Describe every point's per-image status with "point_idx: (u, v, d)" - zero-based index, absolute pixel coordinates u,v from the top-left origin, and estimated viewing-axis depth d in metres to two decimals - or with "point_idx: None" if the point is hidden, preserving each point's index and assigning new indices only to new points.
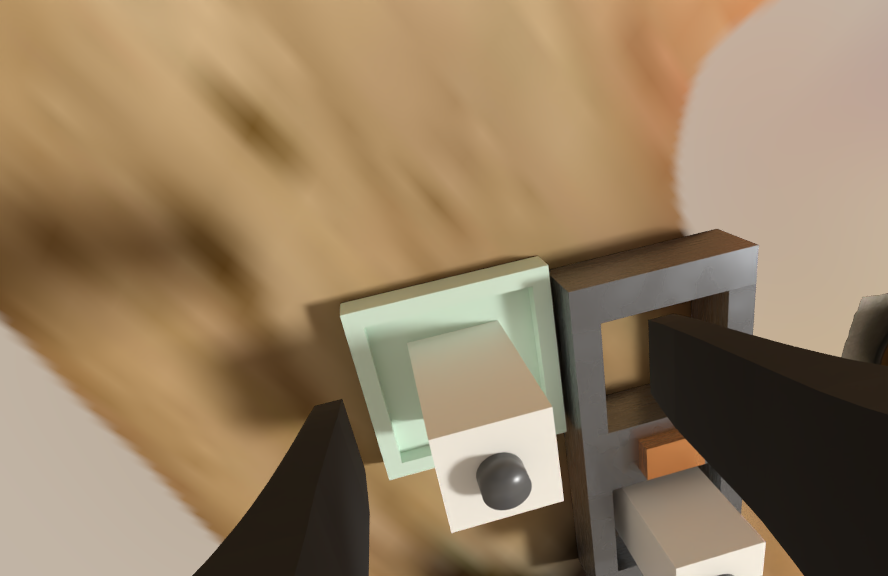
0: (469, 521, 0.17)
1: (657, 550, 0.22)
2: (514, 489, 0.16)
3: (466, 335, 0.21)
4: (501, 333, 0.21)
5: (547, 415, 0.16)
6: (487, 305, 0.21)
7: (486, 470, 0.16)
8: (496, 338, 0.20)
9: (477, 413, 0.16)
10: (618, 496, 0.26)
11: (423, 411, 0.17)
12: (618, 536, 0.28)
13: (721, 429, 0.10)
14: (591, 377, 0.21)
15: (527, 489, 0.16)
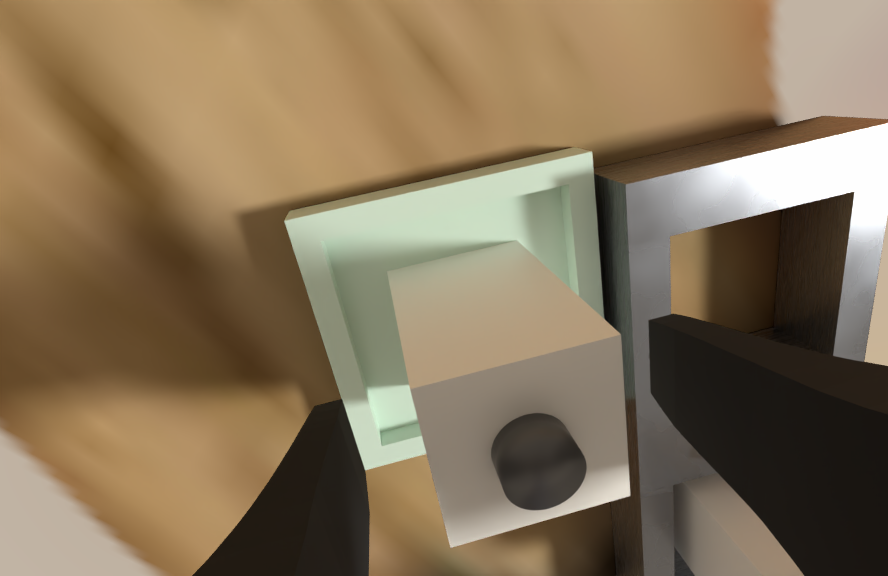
0: (479, 529, 0.10)
1: (743, 568, 0.16)
2: (557, 474, 0.09)
3: (472, 258, 0.14)
4: (523, 253, 0.14)
5: (612, 349, 0.09)
6: (502, 217, 0.15)
7: (509, 442, 0.09)
8: (516, 258, 0.14)
9: (493, 348, 0.10)
10: (676, 493, 0.19)
11: (404, 349, 0.10)
12: None
13: (721, 429, 0.10)
14: None
15: (579, 474, 0.09)
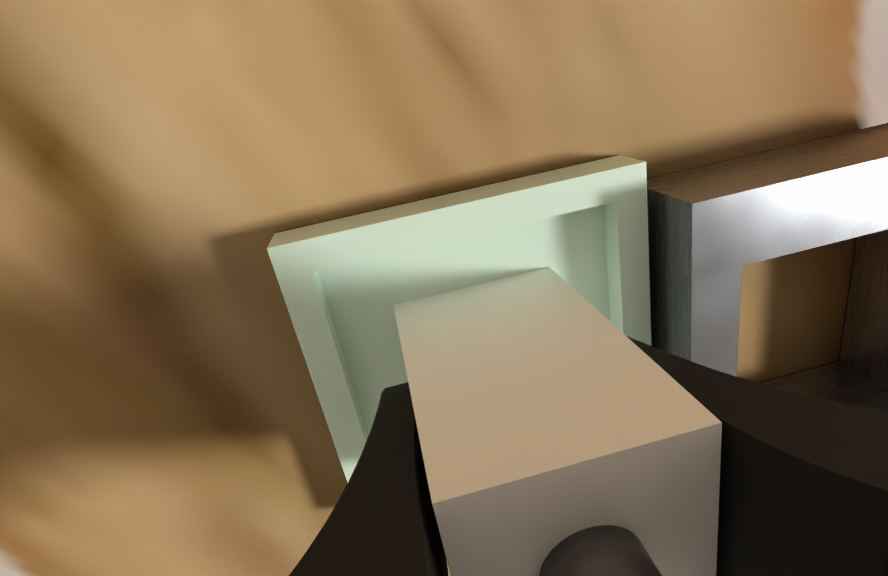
0: None
1: None
2: None
3: (497, 290, 0.12)
4: (561, 285, 0.12)
5: (708, 442, 0.07)
6: (532, 239, 0.12)
7: (568, 572, 0.07)
8: (553, 293, 0.11)
9: (542, 435, 0.07)
10: None
11: (421, 430, 0.08)
12: None
13: None
14: (715, 364, 0.12)
15: None
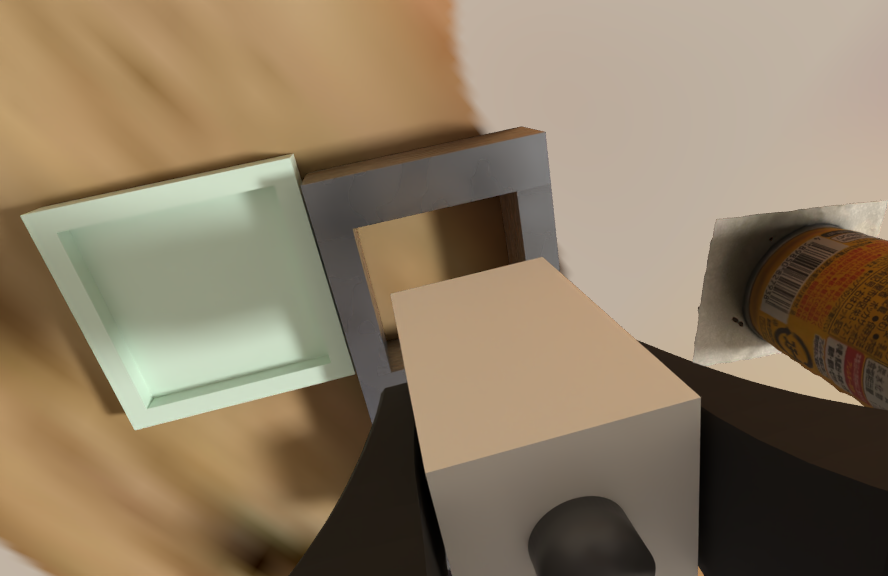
0: None
1: None
2: None
3: (491, 279, 0.12)
4: (553, 274, 0.12)
5: (688, 416, 0.07)
6: (230, 212, 0.18)
7: (555, 539, 0.07)
8: (545, 281, 0.12)
9: (531, 410, 0.08)
10: None
11: (415, 408, 0.08)
12: None
13: None
14: (354, 299, 0.17)
15: None
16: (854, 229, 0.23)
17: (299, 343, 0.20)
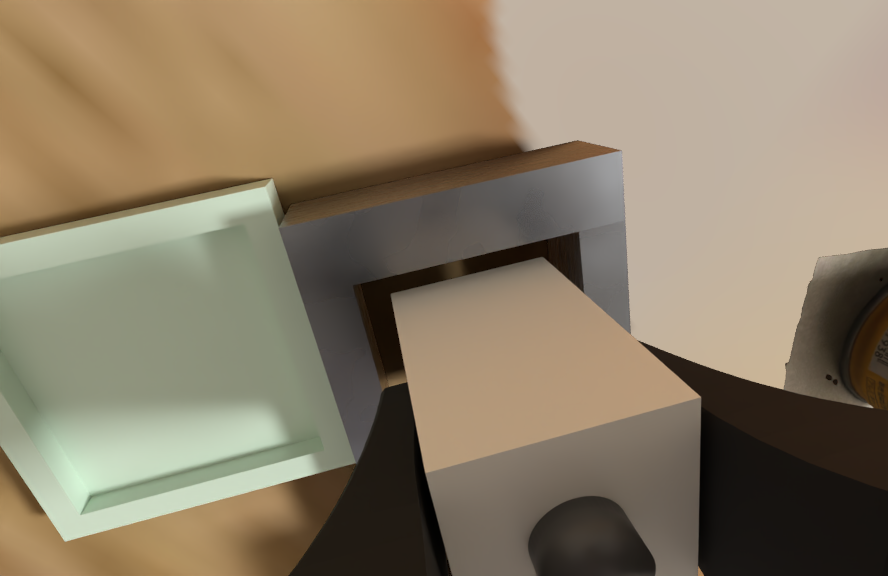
0: None
1: None
2: None
3: (491, 279, 0.12)
4: (553, 274, 0.12)
5: (688, 416, 0.07)
6: (186, 259, 0.13)
7: (555, 539, 0.07)
8: (545, 281, 0.12)
9: (531, 410, 0.08)
10: None
11: (415, 408, 0.08)
12: None
13: None
14: (355, 378, 0.13)
15: None
16: None
17: (283, 423, 0.15)
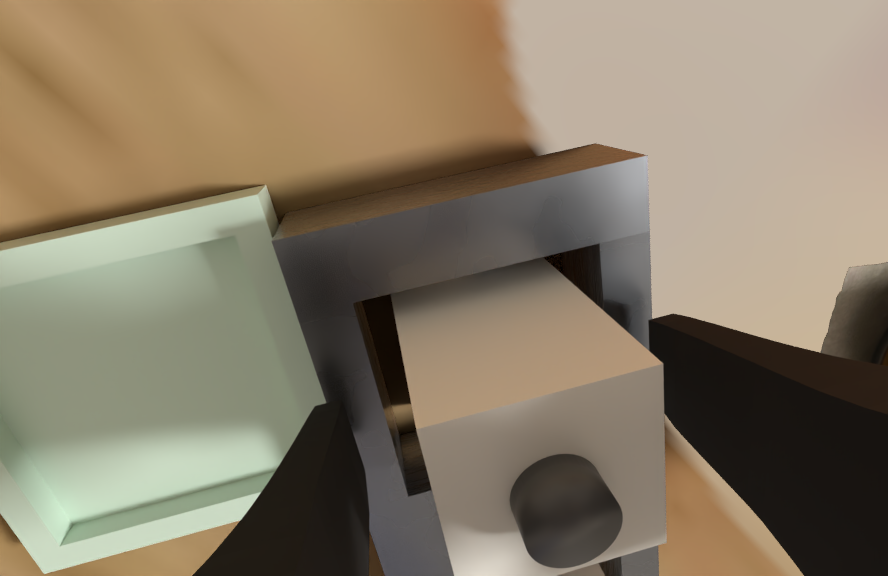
0: None
1: None
2: (589, 527, 0.08)
3: None
4: (539, 261, 0.13)
5: (652, 380, 0.08)
6: (172, 272, 0.12)
7: (532, 490, 0.08)
8: (532, 268, 0.12)
9: (512, 377, 0.08)
10: None
11: (409, 377, 0.09)
12: None
13: (720, 429, 0.10)
14: (355, 402, 0.12)
15: (613, 527, 0.08)
16: None
17: (278, 446, 0.14)
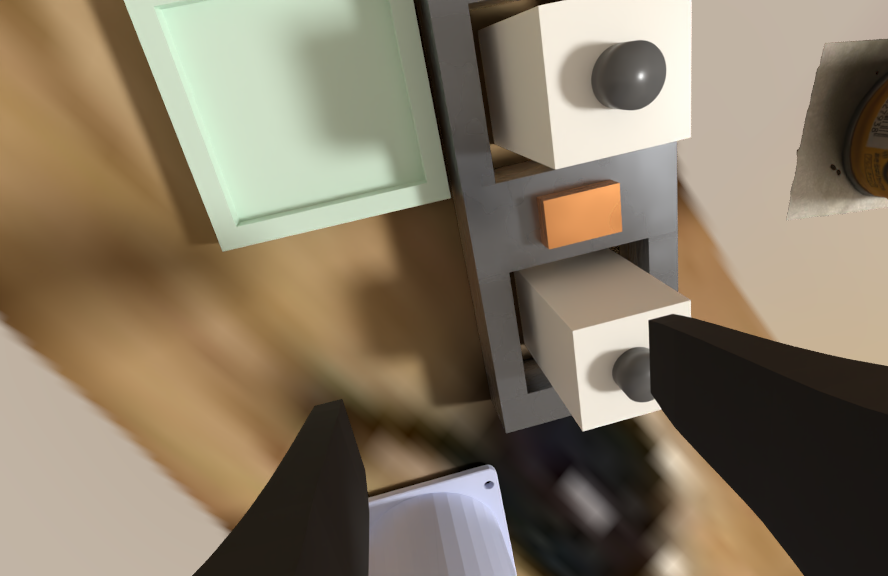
0: (577, 153, 0.14)
1: (557, 328, 0.17)
2: (645, 75, 0.12)
3: None
4: None
5: None
6: (330, 2, 0.17)
7: (609, 53, 0.13)
8: None
9: None
10: (526, 297, 0.21)
11: (521, 13, 0.14)
12: (535, 365, 0.23)
13: (721, 429, 0.10)
14: (464, 91, 0.16)
15: (660, 78, 0.13)
16: None
17: (392, 164, 0.19)
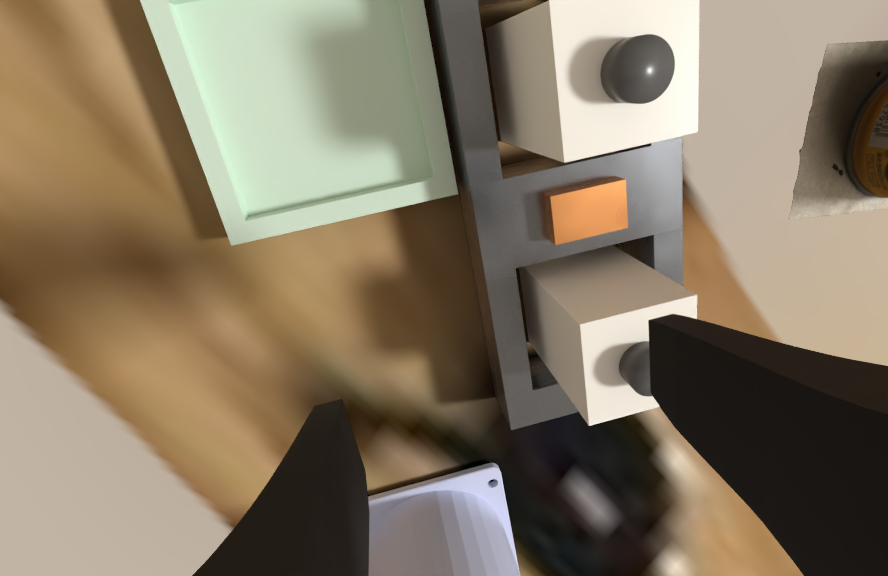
0: (586, 147, 0.14)
1: (564, 323, 0.18)
2: (654, 69, 0.13)
3: None
4: None
5: None
6: None
7: (618, 47, 0.13)
8: None
9: None
10: (531, 294, 0.21)
11: (531, 8, 0.14)
12: (540, 362, 0.23)
13: (720, 429, 0.10)
14: (472, 87, 0.17)
15: (669, 72, 0.13)
16: None
17: (400, 160, 0.19)
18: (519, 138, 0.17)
